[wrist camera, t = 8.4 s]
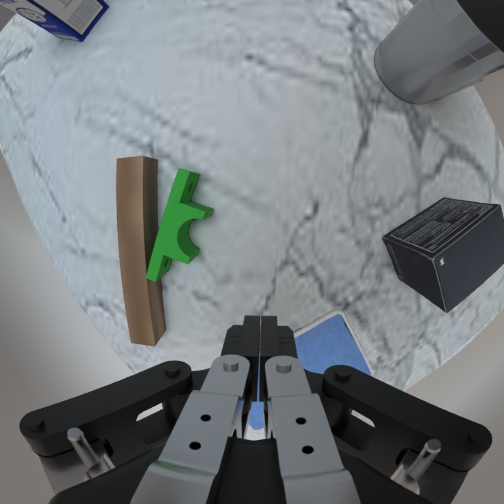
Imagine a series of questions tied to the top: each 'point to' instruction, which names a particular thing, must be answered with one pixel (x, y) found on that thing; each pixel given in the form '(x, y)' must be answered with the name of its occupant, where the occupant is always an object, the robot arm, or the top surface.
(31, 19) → the milk carton
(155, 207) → the block
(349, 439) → the robot arm
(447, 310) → the small box
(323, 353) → the tablet computer
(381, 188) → the top surface
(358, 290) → the top surface
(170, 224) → the pipe clamp
